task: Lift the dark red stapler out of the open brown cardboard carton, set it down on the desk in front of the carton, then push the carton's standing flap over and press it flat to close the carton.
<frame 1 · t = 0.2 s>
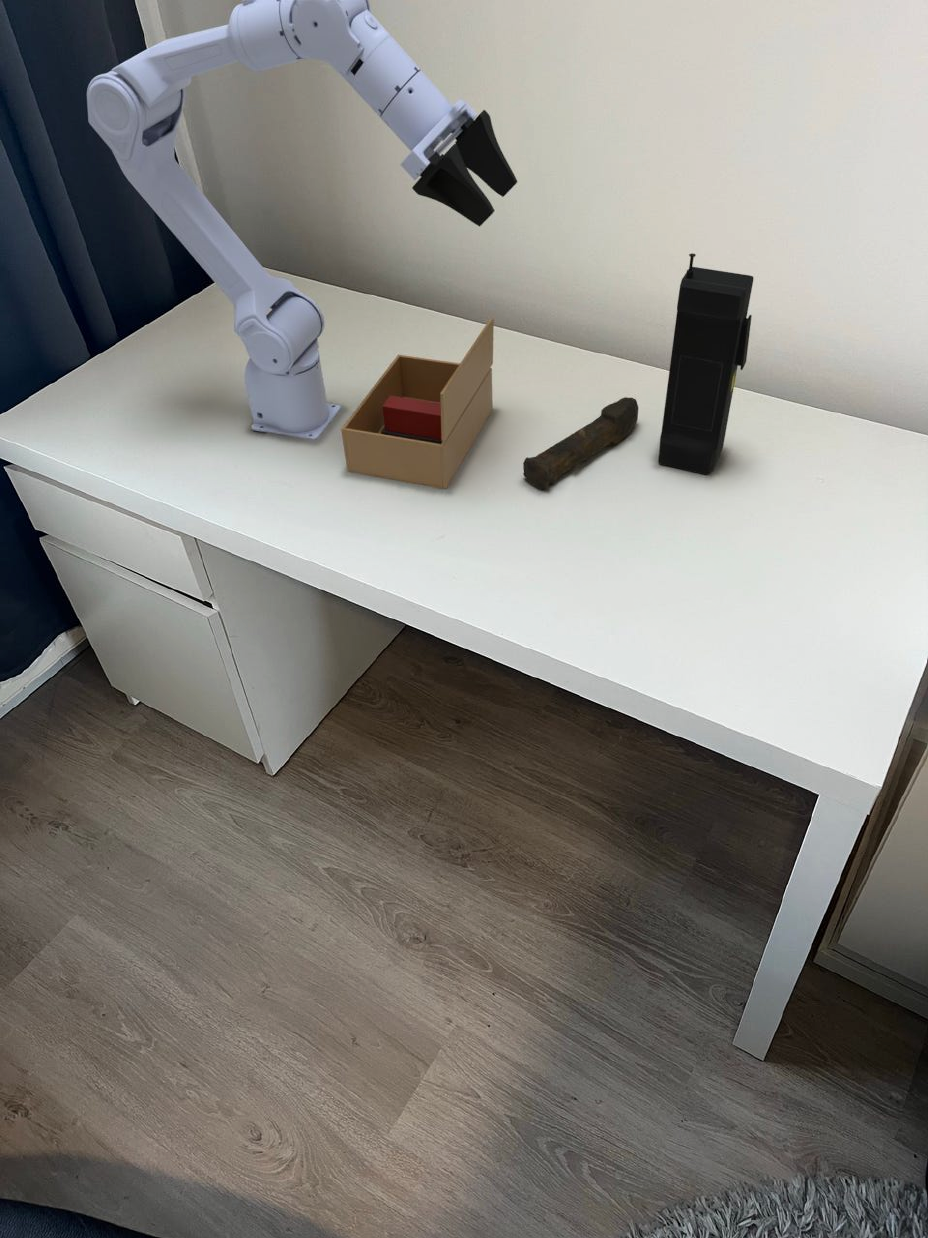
hand: (499, 203, 95), 30 cm above the table, tool tilted 45°, fingers open, 7 cm apart
stapler: (422, 438, 119), resting on carton
portable radio: (693, 458, 114), on the table
flap: (468, 377, 110), point 10 cm above the table, hinge at 92.0°
brown rough bar: (582, 454, 116), on the table
carton: (422, 441, 119), on the table
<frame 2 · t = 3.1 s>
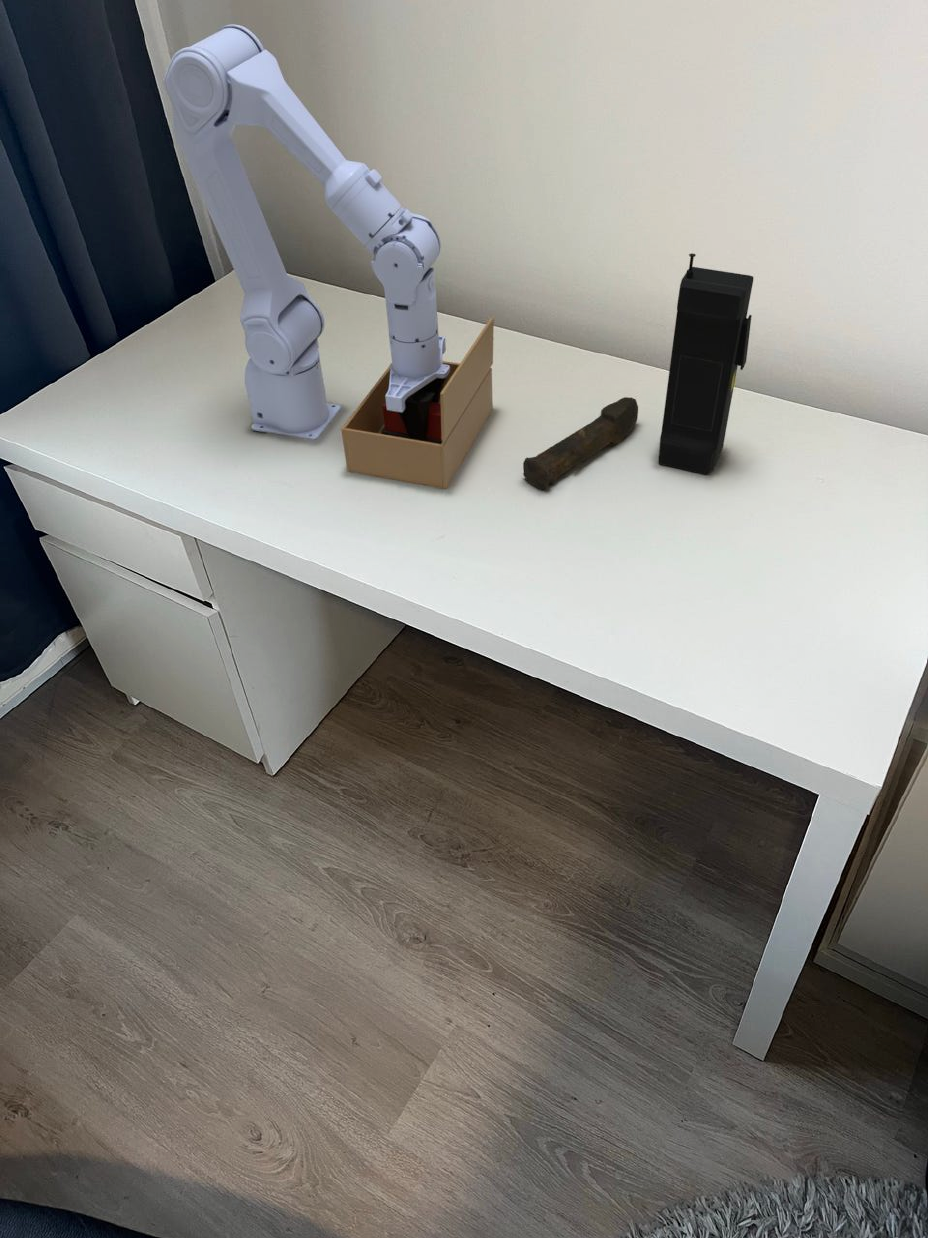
hand: (421, 430, 118), 2 cm above the table, tool pointing down, fingers closed on stapler, 2 cm apart
stapler: (422, 438, 119), resting on carton, touching gripper
everything else where it was.
when the fingers open (1 cm above the table, at t = 7.7 s): stapler stays where it is, on the table.
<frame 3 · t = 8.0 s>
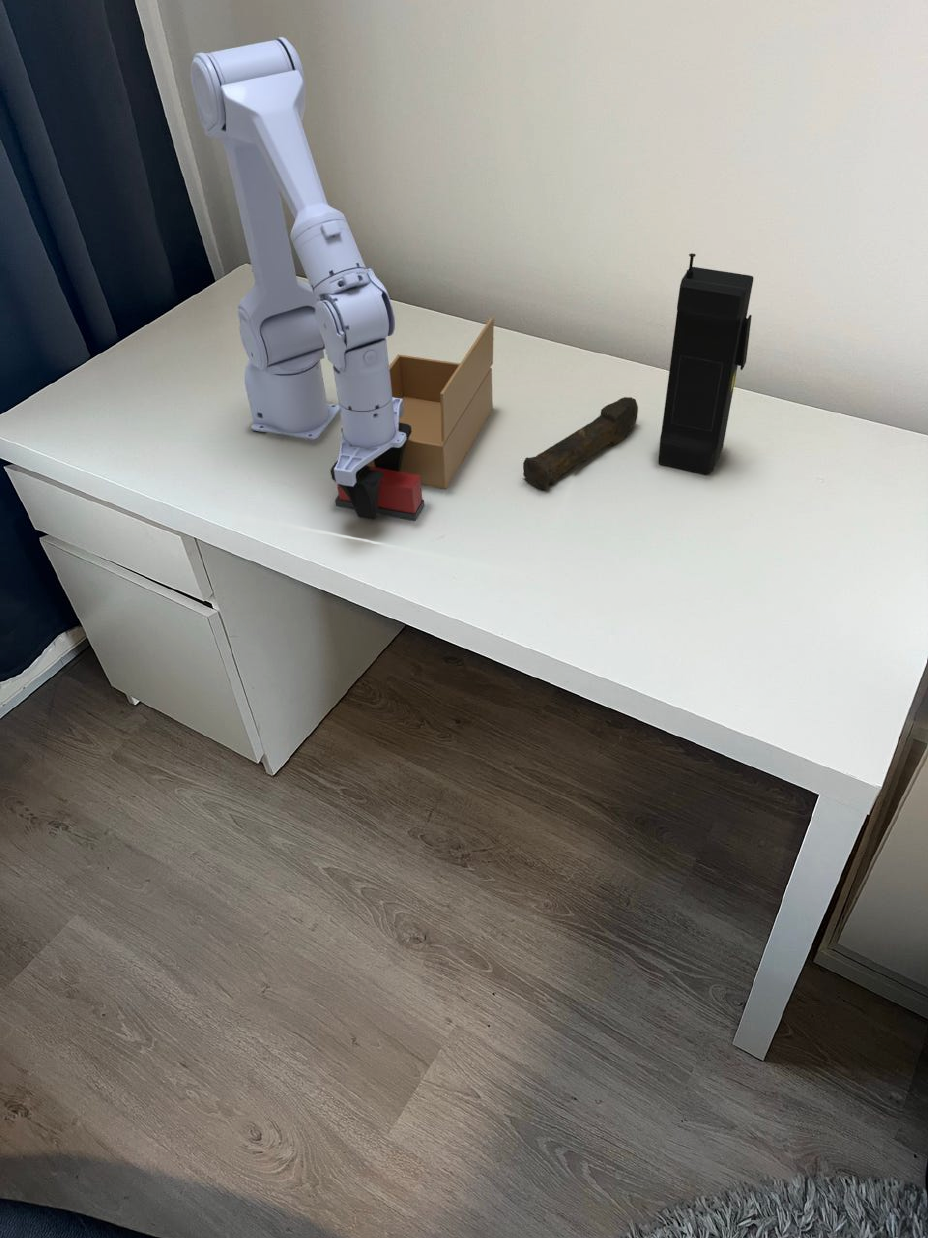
hand: (378, 499, 109), 1 cm above the table, tool pointing down, fingers open, 6 cm apart
stapler: (380, 507, 110), on the table
everything else where it was.
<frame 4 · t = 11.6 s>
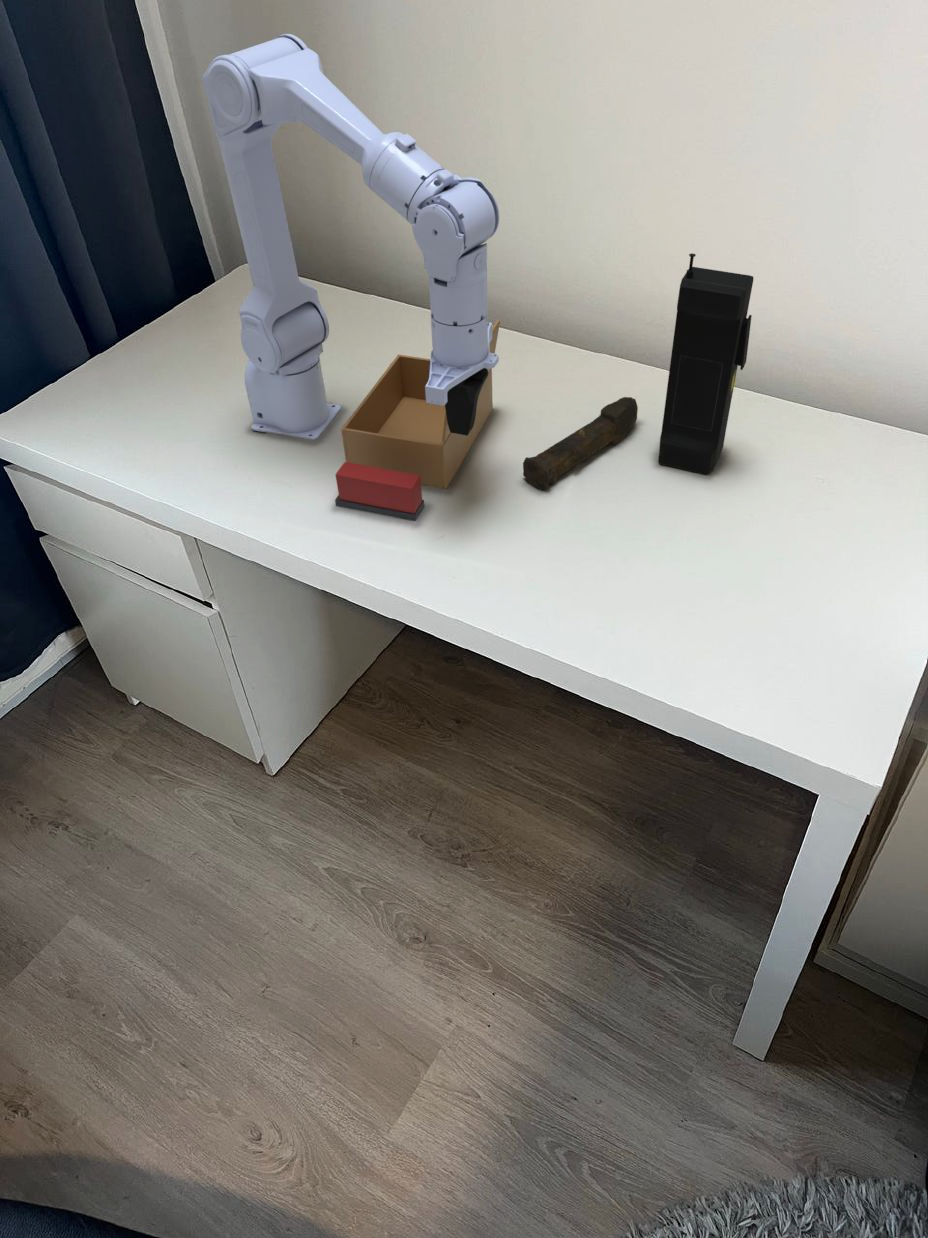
hand: (462, 428, 104), 9 cm above the table, tool pointing down, fingers closed, pressing on flap
flap: (472, 378, 110), point 10 cm above the table, hinge at 99.8°, touching gripper
everything else where it was.
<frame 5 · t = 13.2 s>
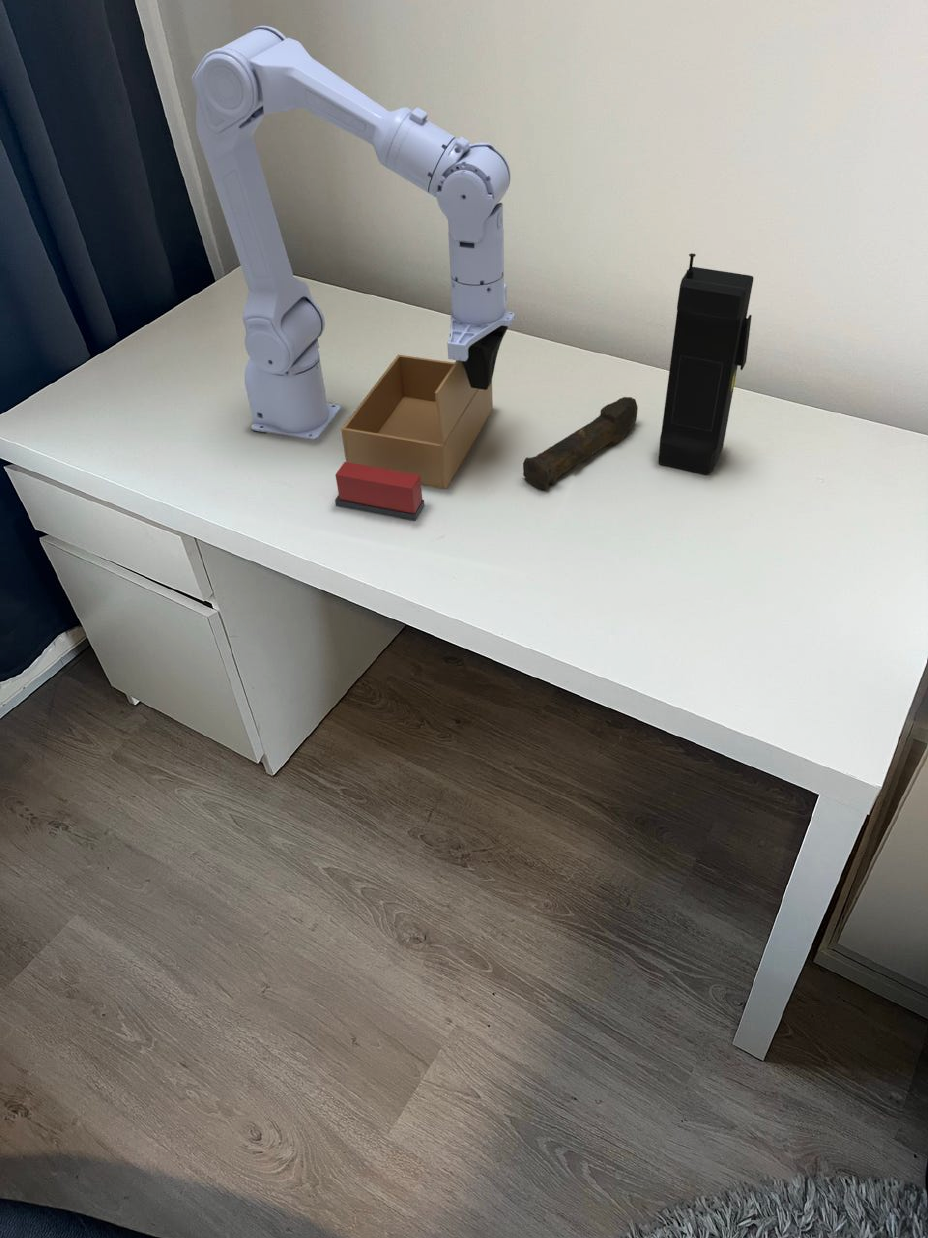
hand: (480, 385, 110), 10 cm above the table, tool pointing down, fingers closed, pressing on flap
flap: (465, 376, 110), point 10 cm above the table, hinge at 86.0°, touching gripper
everything else where it was.
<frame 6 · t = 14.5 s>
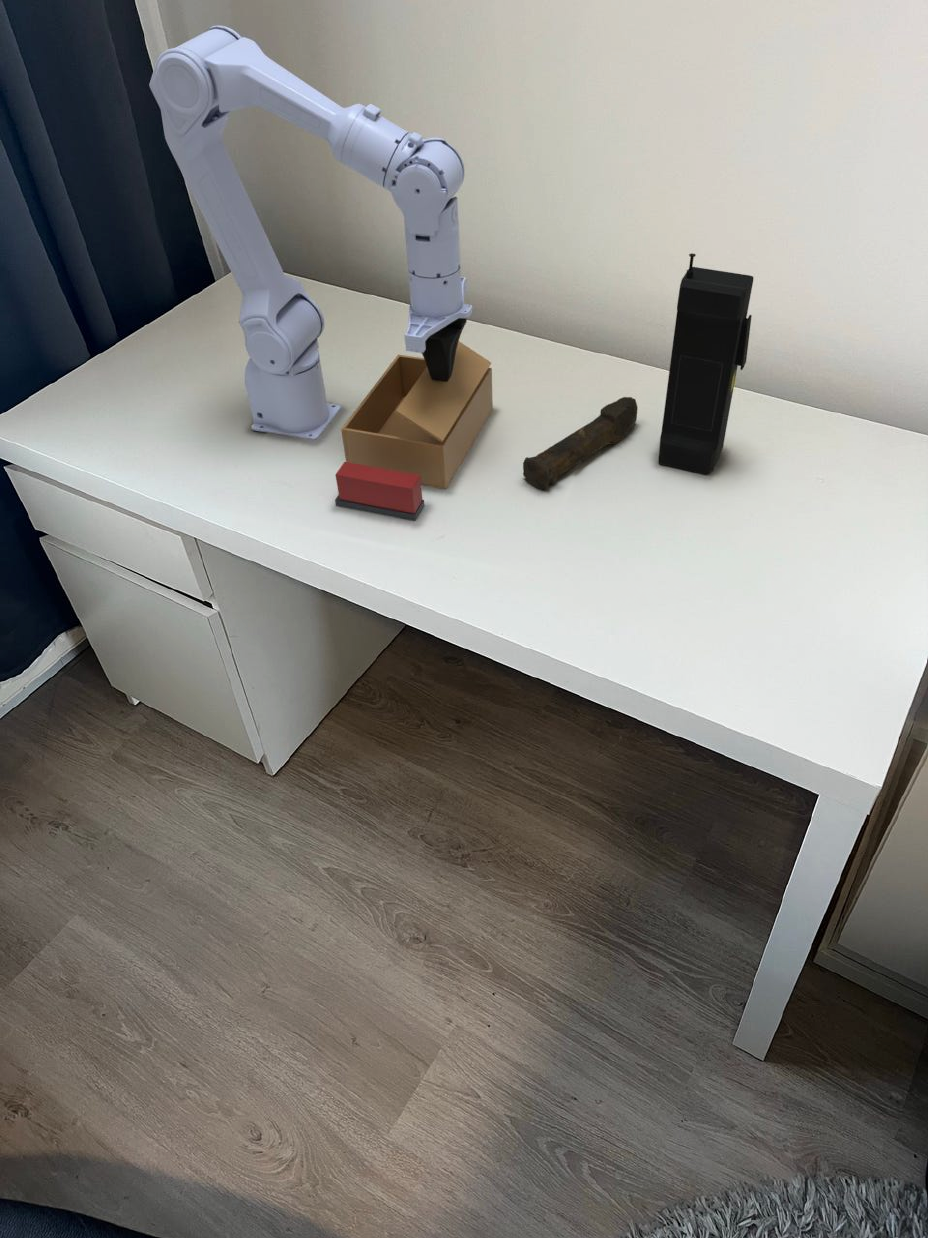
hand: (441, 377, 111), 10 cm above the table, tool pointing down, fingers closed, pressing on flap
flap: (445, 386, 112), point 9 cm above the table, hinge at 29.0°, touching gripper
everything else where it was.
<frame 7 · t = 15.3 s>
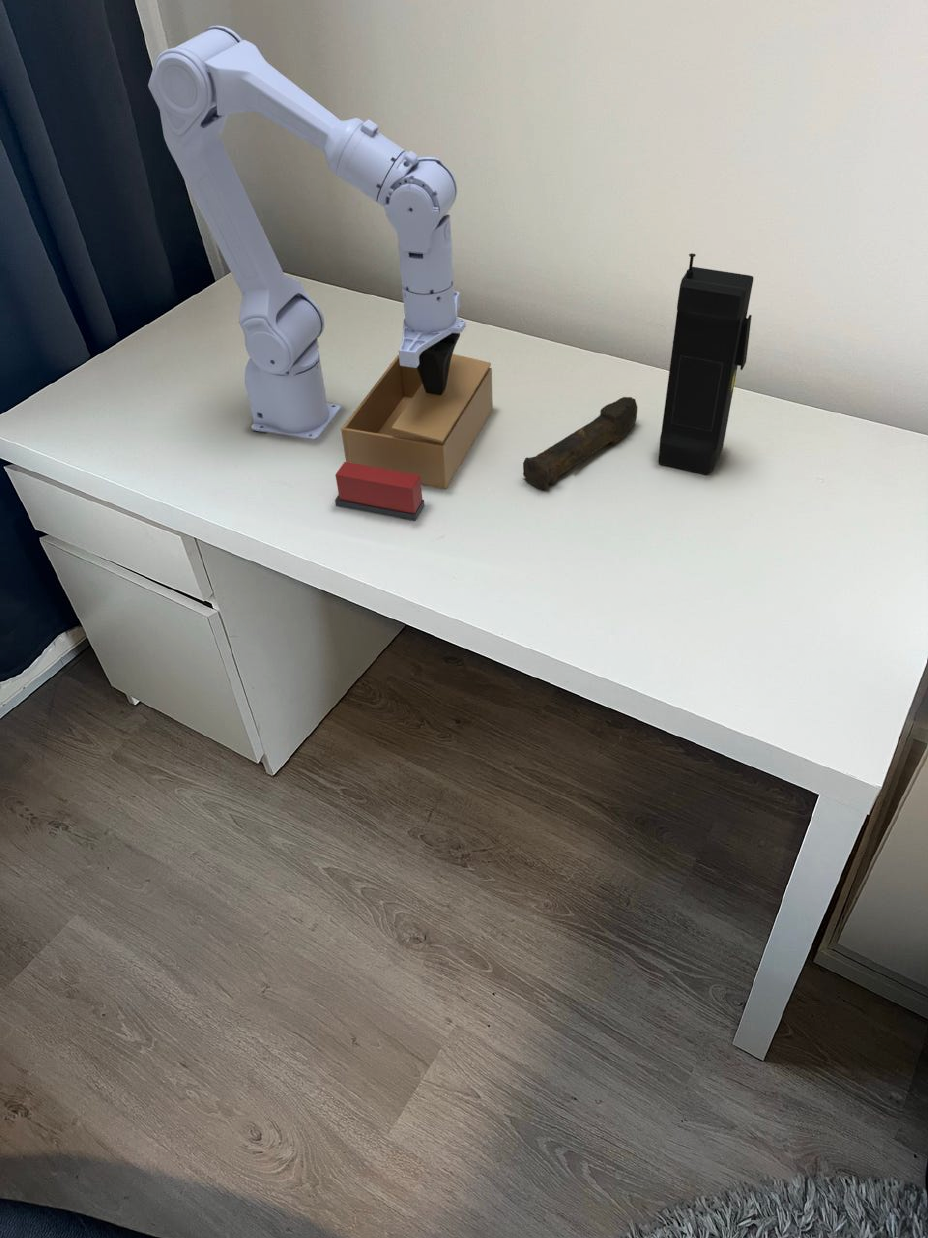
hand: (435, 390, 113), 8 cm above the table, tool pointing down, fingers closed, pressing on flap
flap: (443, 394, 113), point 7 cm above the table, hinge at 5.7°, touching gripper
everything else where it was.
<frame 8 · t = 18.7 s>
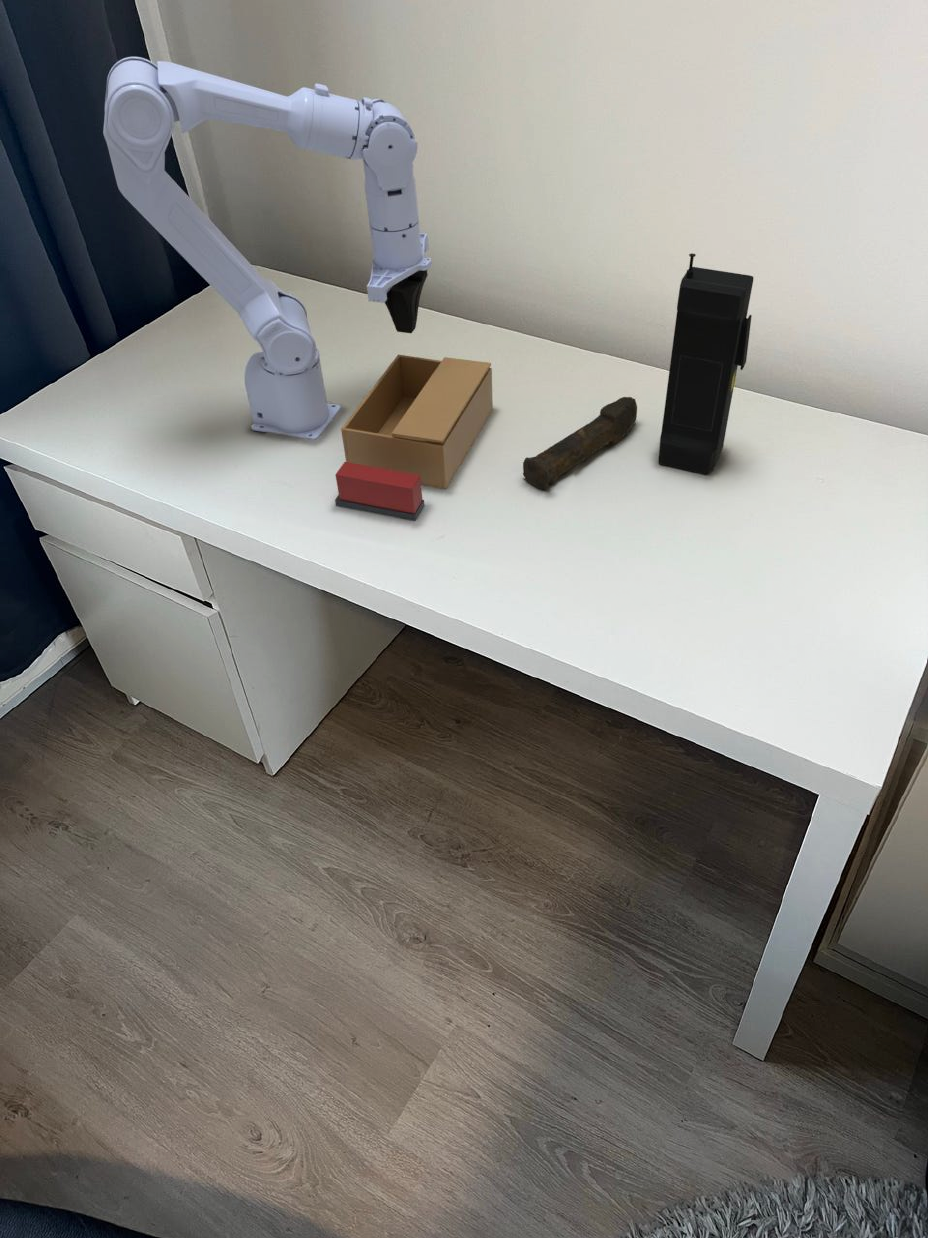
hand: (406, 329, 118), 10 cm above the table, tool pointing down, fingers closed
flap: (443, 397, 113), point 7 cm above the table, hinge at -1.3°
everything else where it was.
at the end: stapler inside the target area (0.3 cm from its centre), on the table; stapler tilted 0°; flap at -1° (first picture: +92°) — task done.
